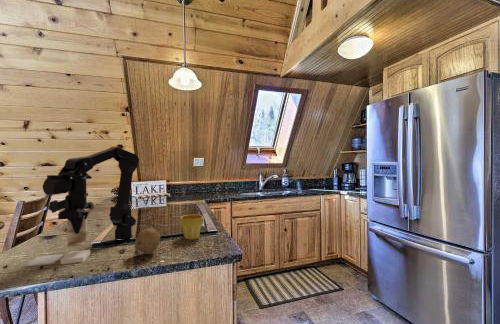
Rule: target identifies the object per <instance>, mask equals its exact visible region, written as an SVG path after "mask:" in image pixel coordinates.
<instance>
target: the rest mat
mask: <svg viewBox="0 0 500 324" xmlns="http://www.w3.org/2000/svg"><path fill="white" fill-rule="evenodd" d="M63 255H64V254H63V253H62V254H52V255H43V256H42V255H40V256H36V257H35V258H34V259H32V260H31V261H30V262H28V263H27V264H25V267H26V268H27V267H36V266H45V265H54V264H56V262H58V260H60V259H62V258H63V257H64V256H63Z"/></svg>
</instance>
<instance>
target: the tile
mask: <svg viewBox="0 0 500 324" xmlns="http://www.w3.org/2000/svg"><path fill="white" fill-rule="evenodd" d="M90 255H91V249H83V250H75V251H74V250H73V251H69V252H67V253H66V254H65V255H64V256H62V257H61V258H60V265H66V264H68V265H69V264H74V263H83V262H85V261H86V260H87V258H89V256H90Z"/></svg>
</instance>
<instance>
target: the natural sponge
mask: <svg viewBox="0 0 500 324" xmlns="http://www.w3.org/2000/svg"><path fill="white" fill-rule="evenodd" d="M138 233H139V234H138V235H137V237H136V239H135V241H134V248H135V249H136V250H138V251H140V252H143V253H144V254H146V255H148V256H149V255H152V254H153V253H155V252H156V250H157V249H158V246H159V245H160V241H161V235H160V232H159V231H158V230H156V229H155V228H145V229H143V230H141V231H140V232H138Z"/></svg>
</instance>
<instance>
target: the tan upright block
mask: <svg viewBox="0 0 500 324" xmlns="http://www.w3.org/2000/svg"><path fill="white" fill-rule="evenodd" d="M66 228H67V229H66V232H67V234H66V238H67V240H66V241H67V248H70V247H81V246H84V245H86V243H87V242H88V239H89V238H88V218H87V219H84V220H83V223H82V226H81V229H80V231H79V233H78V234H75V232H74V229H73V227H72V224H71V222H70V221H69V220H67V221H66Z"/></svg>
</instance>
